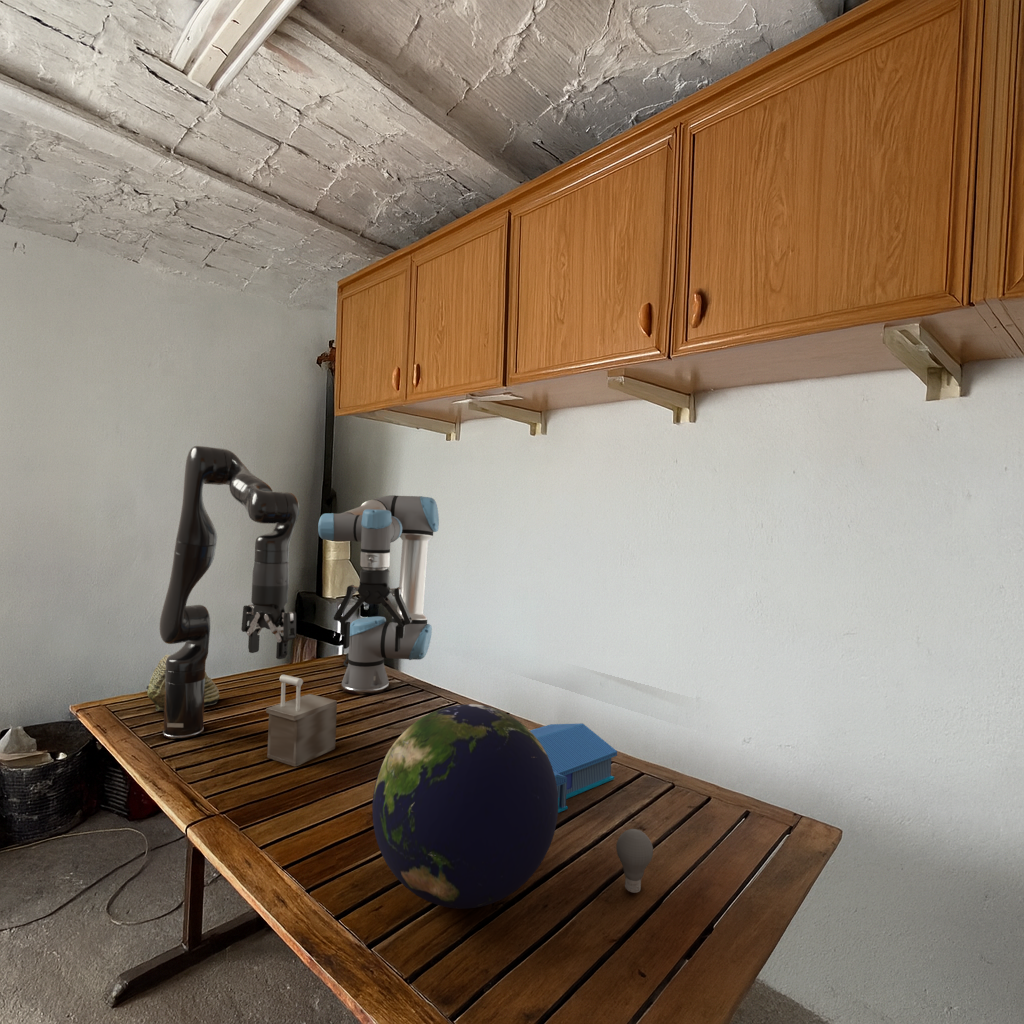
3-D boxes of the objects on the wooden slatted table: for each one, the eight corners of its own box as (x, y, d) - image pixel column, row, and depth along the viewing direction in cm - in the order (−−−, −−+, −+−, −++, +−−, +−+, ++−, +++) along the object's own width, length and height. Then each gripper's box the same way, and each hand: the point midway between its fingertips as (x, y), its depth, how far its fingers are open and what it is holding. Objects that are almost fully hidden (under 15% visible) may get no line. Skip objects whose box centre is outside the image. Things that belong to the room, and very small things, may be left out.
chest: (295, 767, 148) (297, 720, 147) (267, 757, 152) (268, 712, 152) (335, 748, 159) (337, 705, 159) (307, 740, 164) (309, 698, 163)
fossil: (144, 707, 182) (145, 655, 182) (212, 696, 194) (213, 647, 194) (151, 716, 175) (153, 662, 175) (221, 703, 188) (223, 653, 188)
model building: (497, 839, 120) (500, 786, 120) (424, 791, 138) (425, 745, 138) (625, 783, 146) (627, 740, 146) (549, 749, 164) (551, 711, 164)
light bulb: (610, 879, 108) (613, 822, 108) (644, 879, 109) (647, 822, 109) (619, 902, 102) (622, 840, 102) (655, 901, 103) (658, 840, 103)
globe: (328, 919, 95) (336, 721, 95) (427, 827, 123) (434, 674, 122) (512, 985, 84) (522, 760, 83) (576, 867, 112) (584, 698, 111)
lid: (294, 720, 147) (296, 682, 147) (266, 712, 151) (267, 676, 151) (337, 705, 159) (338, 670, 159) (309, 698, 163) (310, 663, 163)
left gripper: (307, 584, 139) (303, 657, 140) (261, 577, 146) (258, 647, 146) (280, 587, 133) (276, 664, 133) (233, 580, 139) (230, 653, 140)
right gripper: (323, 567, 163) (320, 649, 163) (419, 572, 161) (415, 655, 162) (332, 564, 170) (330, 642, 171) (424, 569, 169) (421, 648, 169)
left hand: (267, 655), depth 140 cm, fingers open, 8 cm apart
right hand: (371, 649), depth 166 cm, fingers open, 13 cm apart
